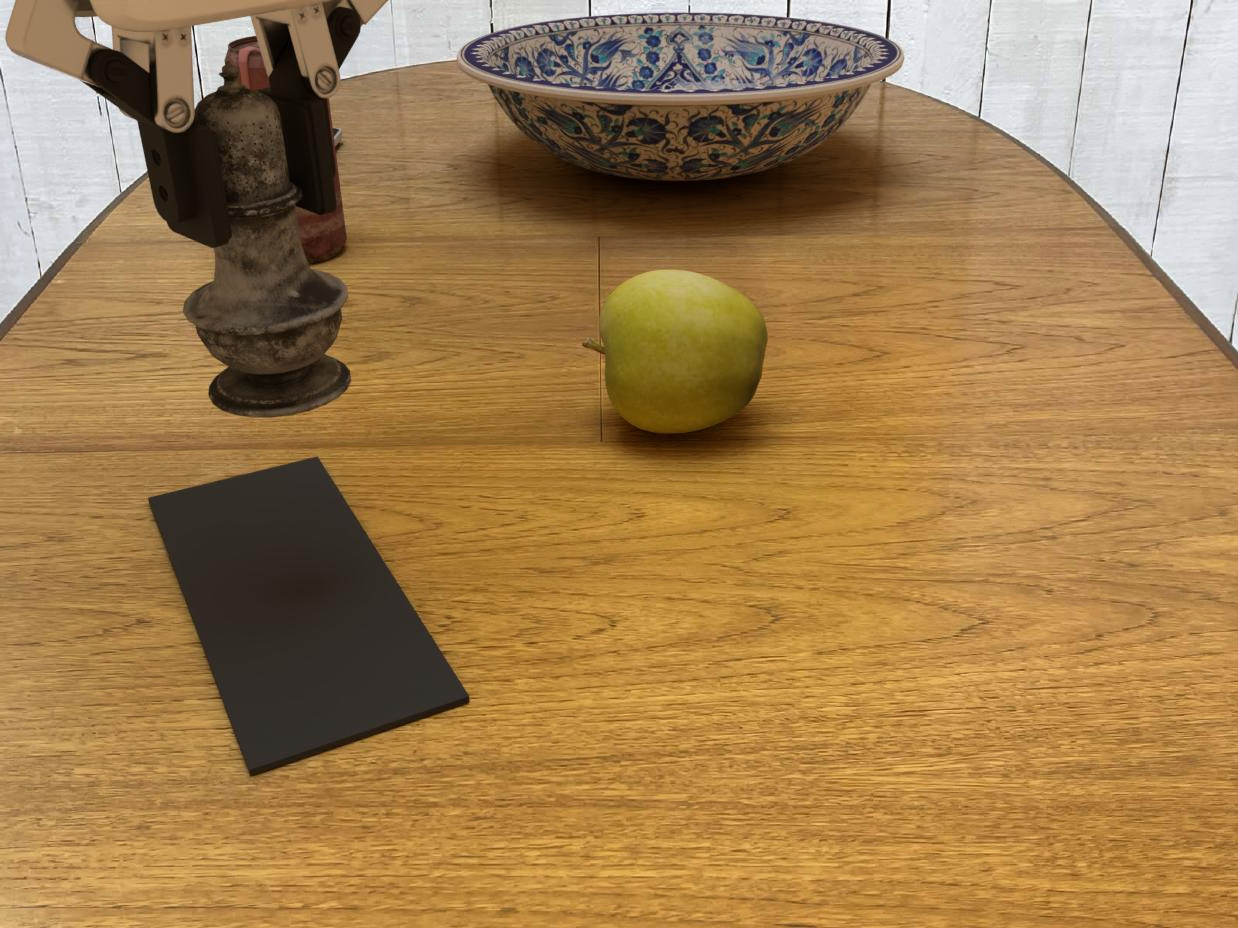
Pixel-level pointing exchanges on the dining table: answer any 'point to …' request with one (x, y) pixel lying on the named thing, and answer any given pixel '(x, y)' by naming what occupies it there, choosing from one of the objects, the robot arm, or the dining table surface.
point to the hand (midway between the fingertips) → (252, 216)
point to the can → (328, 230)
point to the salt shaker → (264, 273)
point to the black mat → (299, 614)
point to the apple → (680, 350)
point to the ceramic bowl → (679, 88)
